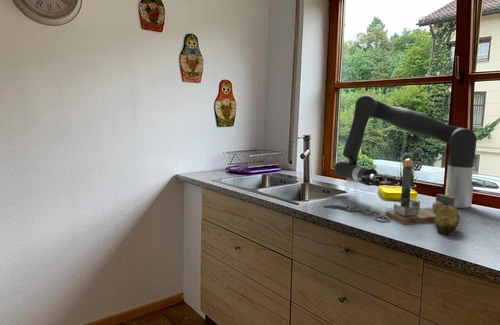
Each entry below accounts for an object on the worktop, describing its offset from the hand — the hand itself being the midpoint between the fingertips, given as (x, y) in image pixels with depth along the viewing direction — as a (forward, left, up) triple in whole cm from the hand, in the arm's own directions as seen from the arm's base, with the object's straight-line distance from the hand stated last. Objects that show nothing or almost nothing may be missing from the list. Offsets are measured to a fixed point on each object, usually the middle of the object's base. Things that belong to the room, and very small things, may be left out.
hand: (388, 182), depth 142 cm
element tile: (-18, -26, -13) cm, 34 cm away
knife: (+12, +1, -13) cm, 17 cm away
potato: (-9, +23, -12) cm, 28 cm away
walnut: (-17, +8, -10) cm, 21 cm away
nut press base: (-9, +9, -12) cm, 18 cm away
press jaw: (-2, +10, -10) cm, 14 cm away
